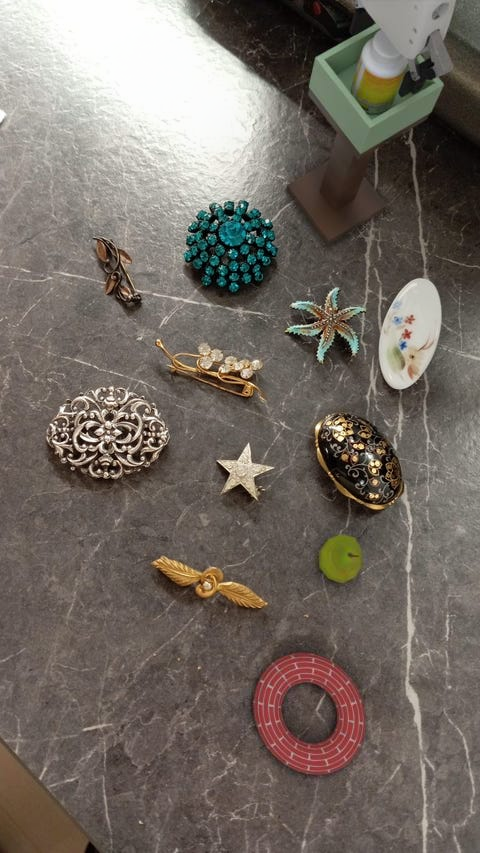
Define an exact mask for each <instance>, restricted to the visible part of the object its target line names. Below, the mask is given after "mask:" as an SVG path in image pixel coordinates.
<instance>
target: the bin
mask: <svg viewBox="0 0 480 853" xmlns="http://www.w3.org/2000/svg"><path fill="white" fill-rule="evenodd" d="M379 30H381V29H380V27H379V26H378V25H377V24H376V23H374V24H373V26H371V27H370V28H368V29H366V30H364V31H362V32H361V33H359V34H357V35H355V36H354V35H353V36H351V37H350V38H347V39H346V40H344V41H342V42H341V43H338V44H337V45H335V46H333V47H332V48H330V49H327V50H326V51H324V52H323V53H321V54H319V55H317V56H315V57H314V62H313V66H312V70H311V76H310V79H309V84H308V89H311V90H312V92H313V93H314V94H315V96H316V97H317V98H318V100H319V101H320V102H321V103H322V105H323V106H324V107H325V109H326V110H327V111H328V113H329V114H330V115H331V116H332V118H333V119H334V120H335V122H336V123H337V124H338V126H339V127H340V128H341V130H342V131H343V132H344V133H345V135H346V136H347V137H348V139H349V140H350V141H351V143H352V144H353V145H354V146H355V148H356V149H357V150H358V152H359V153H360V154H362V153H363V152H365V151H367V150H369V149H370V148H372V147H374V146H375V145H377V144H379V143H380V142H382V141H384V140H385V139H387V138H389V137H390V136H392V135H394V134H396V133H397V132H399V131H401V130H402V129H404V128H406V127H407V126H409V125H411V124H412V123H414V122H416V121H417V120H419V119H421V118H422V117H424V116H426V115H428V114H429V115H430V114H431V113H432V112H433V110H434V108H435V106H436V103H437V101H438V100H439V97H440V94H441V92H442V90H443V88H444V86H445V84H444V82H443V81H442V80H441V78H440V77H437V78H434V79H432V80H426V81H425V83H424V86H423V88H422V89H421V90H420V91H418V92H417V93H415V94H412V93H409V94H407V95H406V96H404V97H402V98H401V97H400V95H399V92H398V91H399V89H400V86H401V83H402V81H403V78H404V75H405V73H406V72H408V71H409V65H408V64H407V67H406V69H405V72H404V74H403V77H402V80H401V82H400V85H399V88H398V90H397V93H396V96H395V98H394V100H393V103H392V104H391V106H390V107H389V108H388V109H386V110H385V111H383V112H380V113H367V112H365V111H364V110H363V109H362V107H361V106H360V105H359V103H358V102H357V101H356V100H355V98H354V97H353V96H352V94H351V86H352V83H353V79H354V76H355V73H356V69H357V66H358V63H359V59H360V56H361V53H362V50H363V47H364V45H365V44H366V43H367V42H368V41H369V40H370V39H371V38H373V37H374V36H375V34H376V33H377V32H378V31H379ZM417 58H418V63H419V64H420V63H421V62H423V61H425V58H424V56H422V54H421V55H419V56H417Z"/></svg>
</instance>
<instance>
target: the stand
mask: <svg viewBox="0 0 480 853" xmlns="http://www.w3.org/2000/svg"><path fill="white" fill-rule="evenodd" d="M307 95H308V97H309V98H310V99H311V101H312V102H313V103H314V104H315V106H316V107H317V108H318V110H319V111H320V112H321V114H322V115H323V116H324V118H325V119H326V120H327V122H328V123H329V124H330V125H331V127H332V128H333V129H334V131H335V132H336V134H335V138H334V142H333V144H332V147H331V152H330V155H329V157H328V160H327V161H325V162H324V163H322V164H320V165H318V166H317V167H315V168H313V169H312V170H309V171H308V172H307V173H304V174H303V175H301V176H300V177H298V178H296V179H295V180H293V181H291V182H289V183H288V184H286V189H285V190H286V192H287V194H289V196H290V198H291V199H292V200H293V202H295V204H296V206H297V207H298V208H299V210H300V211H301V212H302V213H303V215H304V216H305V218H306V219H307V220H308V222H309V223H310V224H311V226H312V227H313V229H315V231H316V233H317V234H318V236H320V238H321V239H322V241H323V242H324V243H325V245H326V246H329V245H331V244H332V243H334V242H336V241H338V240H339V239H340V238H342V237H343V236H346V235H347V234H348V233H350V232H352V231H353V230H355V229H356V228H358V227H360V226H361V225H363V224H365V223H366V222H368V221H370V220H371V219H373V218H375V217H376V216H378V215H379V214H381V213H383V212H384V211H385V210H387V209H386V208H387V206H388V204H387V203H386V202H385V201H384V199H383V198H382V197H381V196H380V194H379V193H378V191H377V190H376V189H375V187H374V186H373V185H372V184H371V182H370V181H369V180H368V178H367V177H366V175H365V174H366V172H367V169H368V167H369V164H370V162H371V159H372V156H373V154H374V151H376V150H378V149H380V148H381V147H383V146H384V145H386V144H389V143H390V142H392V141H394V140H395V139H396V138H398V137H400V136H402V135H403V134H405V133H406V132H408V131H409V130H411V129H413V128H415V127H416V126H418V125H420V124H422V123H423V122H425V121H427V120H428V118H429V116H430V113H429V114H428V115H426V116H424V117H422V118H421V119H419V120H417V121H416V122H414V123H412V124H411V125H409V126H407V127H406V128H404V129H402V130H401V131H399V132H397V133H396V134H394V135H392V136H390V137H389V138H387V139H385V140H384V141H382V142H380V143H379V144H377V145H375V146H374V147H372V148H370V149H369V150H367V151H365V152H363V153H362V154H360V153H359V152H358V150H357V149H356V148H355V146H354V145H353V144H352V143H351V141H350V140H349V139H348V137H347V136H346V135H345V133H344V132H343V131H342V130H341V128H340V127H339V126H338V124H337V123H336V122H335V120H334V119H333V118H332V116H331V115H330V114H329V113H328V111H327V110H326V109H325V107H324V106H323V105H322V103H321V102H320V101H319V100H318V98H317V97H316V96H315V94H314V93H313V92H312V90H311V89H310V88H308V93H307Z"/></svg>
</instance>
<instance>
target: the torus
mask: <svg viewBox="0 0 480 853" xmlns="http://www.w3.org/2000/svg"><path fill="white" fill-rule="evenodd" d="M303 683H309V684H314V685H316V686H318V687H319V688H322V689H323V690H324V691H325V692H326V693H327V694H328V695H329V697H330V698H331V699H332V701H333V703H334V706H335V709H336V724H335V728H334V729H333V732H332V733H331V734H330V736H328V737H327V738H326V739H324V740H323V741H320V742H315V743H314V742H313V743H312V742H305V741H303V740H301V739H300V738H298V737H296V736H295V735H293V734H292V732H291V731H290V729H288V726H287V725H286V723H285V721H284V718H283V713H282V712H283V711H282V706H283V701H284V698H285V696H286V694H287V693H288V691H289V690H290V689H292V688H293V687H294V686H296V685H298V684H303ZM252 710H253V719H254V722H255V723H254V724H255V726H256V729H257V731H258V734H259V737H260V738H261V740H262V742H263V743H264V745H265V747H266V748H267V749H268V750H269V752H270V753H271V754H272V755H273V756H274V757H275V759H277V760H278V761H279V762H281V763H282V764H283V765H285V766H286V767H288V768H290V769H292V770H294V771H296V772H298V773H303V774H306V775H313V776H316V775H319V776H320V775H327V774H332V773H334V772H337V771H339V770H340V769H342V768H344V767H346V766H347V765H348V764H349V763H350V762H351V761H352V760H353V759H355V757H356V755H357V754H358V752H359V750H360V749H361V747H362V744H363V741H364V738H365V734H366V725H367V724H366V722H367V720H366V718H367V717H366V710H365V706H364V702H363V699H362V696H361V694H360V691H359V689H358V688H357V685H356V684H355V683H354V681H353V680H352V678H351V677H350V676H349V675H348V674H347V673H346V671H345V670H343V668H341V667H340V666H339V665H338V664H337V663H335V662H334V661H332V660H330V659H328V658H326V657H324V656H321V655H319V654H315V653H310V652H294V653H288V654H286V655H283V656H281V657H279V658H277V659H276V660H274V661H273V662H272V663H270V664H269V665H268V666H267V667H266V668H265V669H264V671H262V674H261V675H260V677H259V678H258V681H257V683H256V686H255V689H254V693H253V703H252Z"/></svg>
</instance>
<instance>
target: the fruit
mask: <svg viewBox="0 0 480 853" xmlns="http://www.w3.org/2000/svg"><path fill="white" fill-rule="evenodd" d="M363 560H364V559H363V550H362V548H361V546H360V544H359V543H358V541H357V539H356V538H355V537H354V536H351V535H347V534H342V533H341V534H338V535H336V536H335V535H334V536H333V537H331V538H328V539H327V540H326V541H325V543H324V544H323V546H322V547H321V548H320V550H319V551H318V567H319V569H320V570H321V571H322V572H323V574H324V575H325V577H327V579H329V580H331V581H334V582H337V583H340V584H344V583H346V582H349V581H350V580H353V579H355V578H356V577H357V576H358V574H359V572H360V571H361V569H362V568H363V566H364V561H363Z"/></svg>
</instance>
